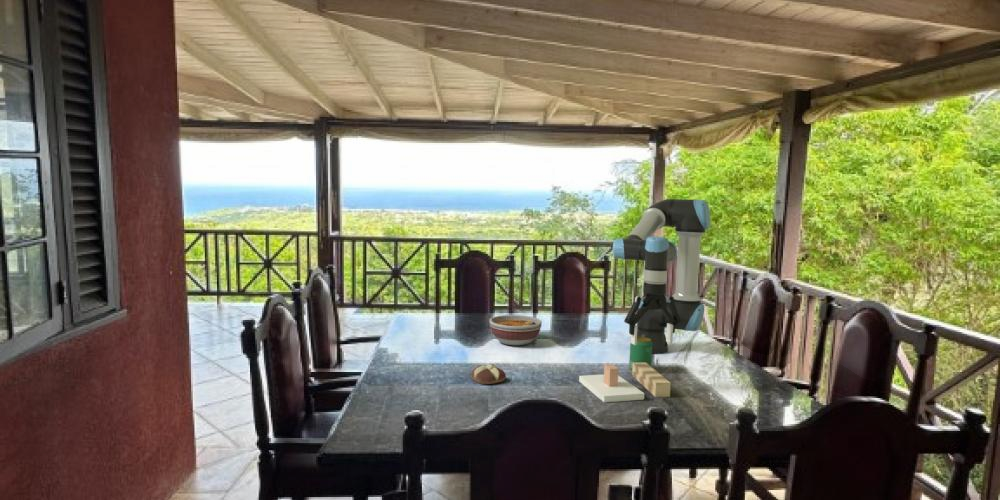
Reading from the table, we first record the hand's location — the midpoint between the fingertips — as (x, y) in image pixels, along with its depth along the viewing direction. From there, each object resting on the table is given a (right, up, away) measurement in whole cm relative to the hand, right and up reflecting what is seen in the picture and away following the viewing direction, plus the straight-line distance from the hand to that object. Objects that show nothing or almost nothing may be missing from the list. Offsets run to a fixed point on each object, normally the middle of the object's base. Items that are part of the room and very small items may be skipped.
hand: (651, 343), depth 188 cm
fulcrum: (-15, -15, -5) cm, 22 cm away
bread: (-56, -14, +2) cm, 58 cm away
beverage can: (+1, -13, +18) cm, 22 cm away
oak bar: (0, -15, +1) cm, 15 cm away
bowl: (-46, -9, +52) cm, 70 cm away
